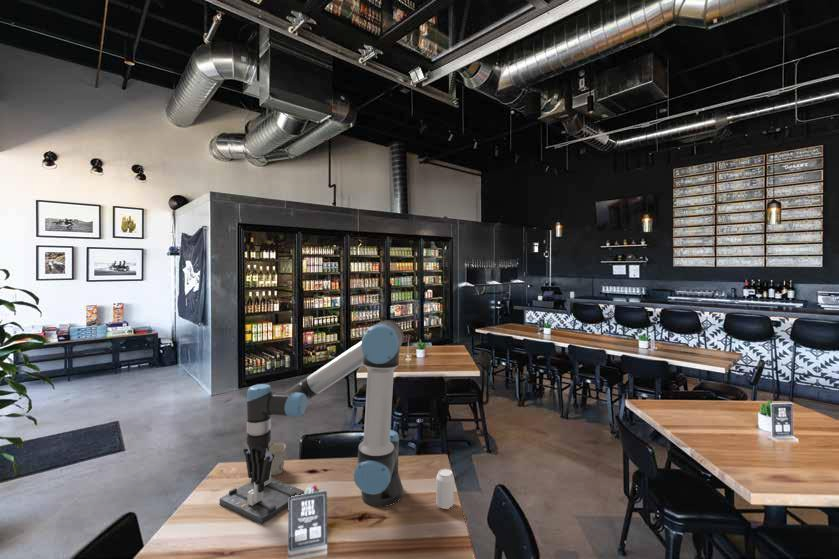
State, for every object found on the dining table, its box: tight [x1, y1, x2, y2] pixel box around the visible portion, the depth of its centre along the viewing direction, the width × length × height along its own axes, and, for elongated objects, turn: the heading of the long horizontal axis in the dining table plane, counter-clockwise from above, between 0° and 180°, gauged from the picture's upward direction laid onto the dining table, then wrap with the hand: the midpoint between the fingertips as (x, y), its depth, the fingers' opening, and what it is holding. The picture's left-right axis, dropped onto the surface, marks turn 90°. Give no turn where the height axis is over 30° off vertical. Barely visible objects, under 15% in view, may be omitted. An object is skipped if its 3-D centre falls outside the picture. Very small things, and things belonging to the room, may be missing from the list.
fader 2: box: [264, 472, 272, 486], centre depth 140 cm, size 2×4×4 cm, turn 151°
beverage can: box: [435, 468, 455, 508], centre depth 131 cm, size 6×6×12 cm
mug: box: [268, 442, 287, 476], centre depth 154 cm, size 8×13×10 cm, turn 78°
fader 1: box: [247, 489, 261, 506], centre depth 129 cm, size 2×4×4 cm, turn 151°
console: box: [219, 477, 305, 526], centre depth 134 cm, size 22×18×3 cm
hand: (258, 500), depth 128 cm, fingers closed
